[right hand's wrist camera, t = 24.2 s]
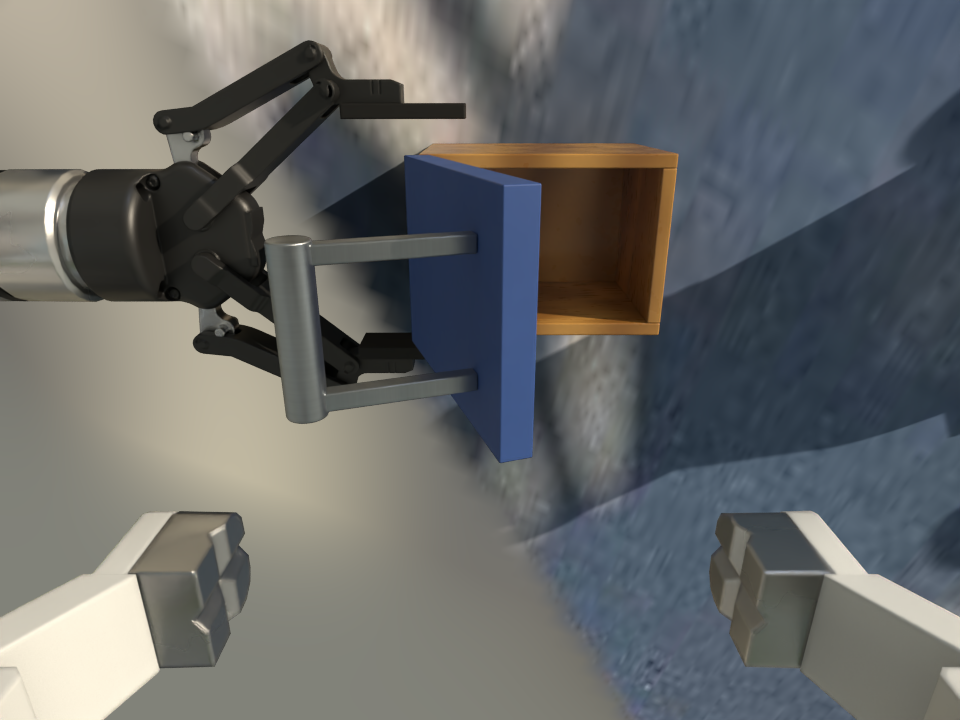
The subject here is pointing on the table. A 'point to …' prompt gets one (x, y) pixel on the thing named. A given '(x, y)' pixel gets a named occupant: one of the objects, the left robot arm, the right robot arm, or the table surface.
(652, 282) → the chest
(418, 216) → the lid
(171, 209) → the left robot arm
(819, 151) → the table surface
